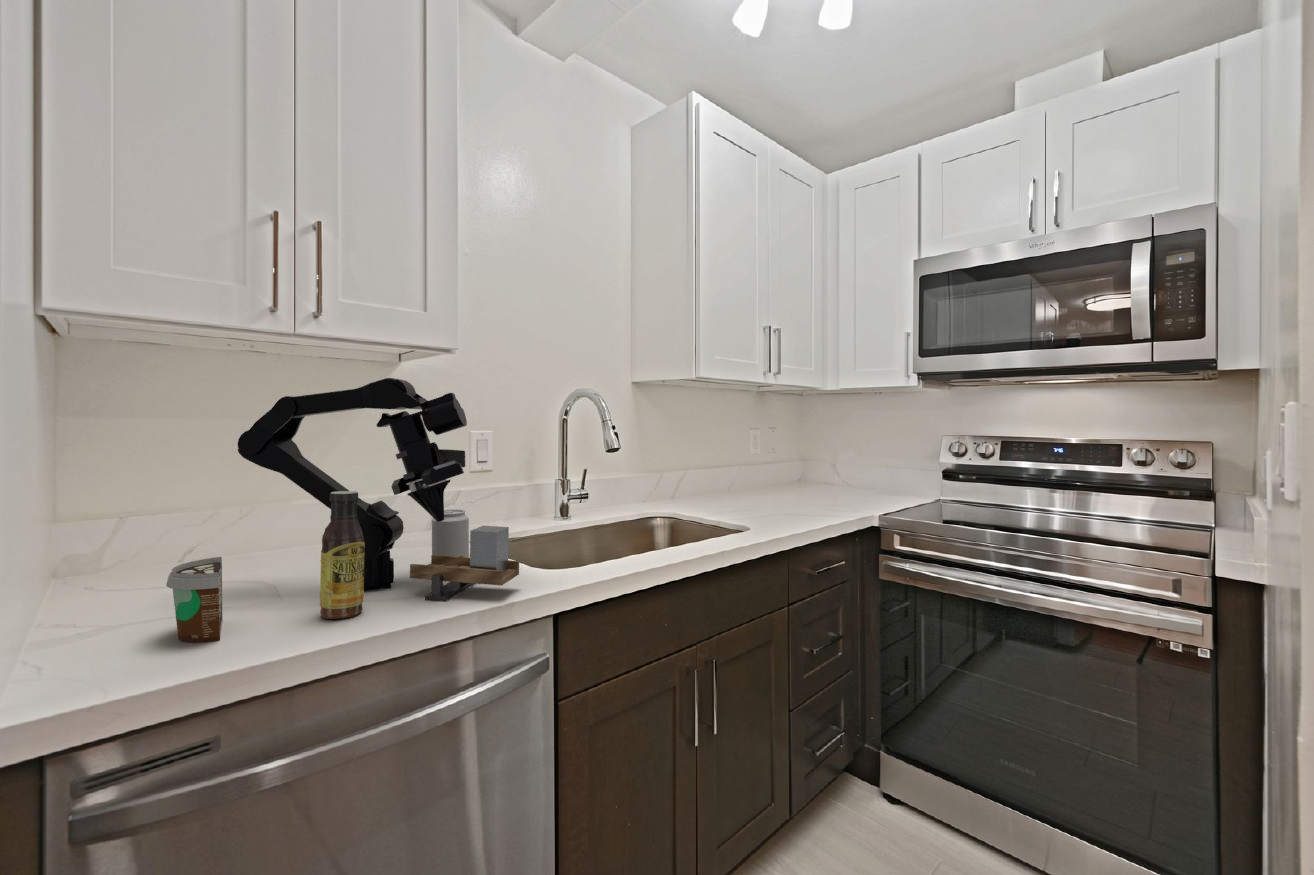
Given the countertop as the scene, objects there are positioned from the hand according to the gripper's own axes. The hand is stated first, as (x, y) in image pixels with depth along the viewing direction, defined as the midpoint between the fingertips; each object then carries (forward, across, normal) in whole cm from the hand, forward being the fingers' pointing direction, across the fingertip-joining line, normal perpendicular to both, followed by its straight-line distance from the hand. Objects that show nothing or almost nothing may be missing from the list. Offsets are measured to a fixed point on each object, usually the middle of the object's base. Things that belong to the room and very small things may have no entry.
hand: (440, 521), depth 110 cm
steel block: (+11, -9, -1) cm, 15 cm away
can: (+11, +15, -5) cm, 19 cm away
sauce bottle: (+8, -2, +21) cm, 23 cm away
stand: (+13, -2, +4) cm, 13 cm away
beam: (+11, -5, +2) cm, 12 cm away
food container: (+3, +4, +39) cm, 39 cm away
